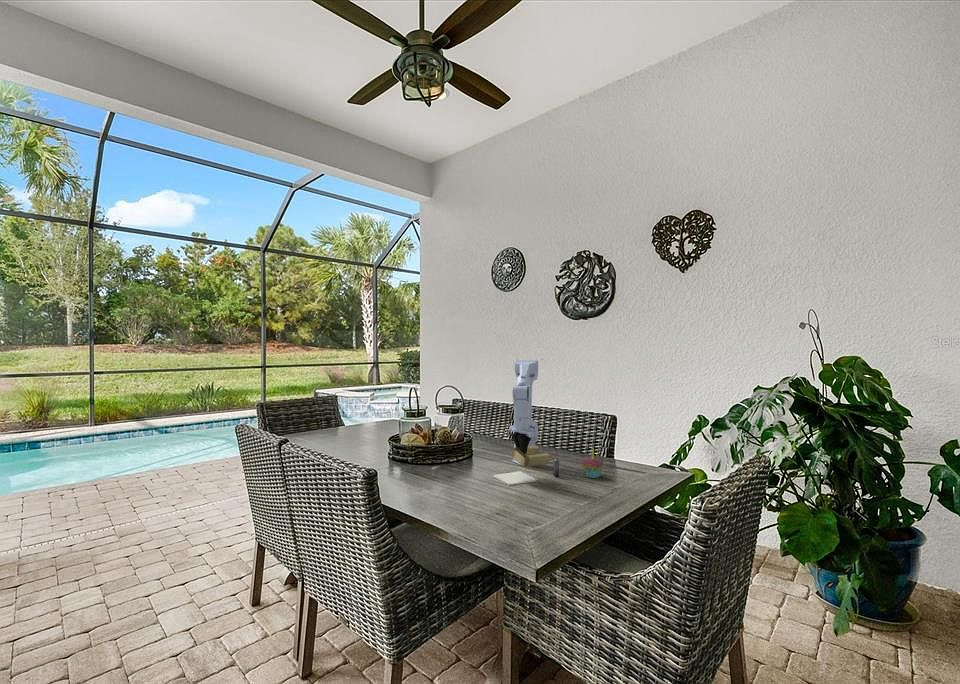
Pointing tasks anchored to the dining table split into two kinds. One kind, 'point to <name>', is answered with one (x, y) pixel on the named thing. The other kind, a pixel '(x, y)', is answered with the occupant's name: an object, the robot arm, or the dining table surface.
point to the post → (556, 468)
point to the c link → (530, 456)
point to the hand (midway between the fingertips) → (521, 452)
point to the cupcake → (592, 466)
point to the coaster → (514, 478)
